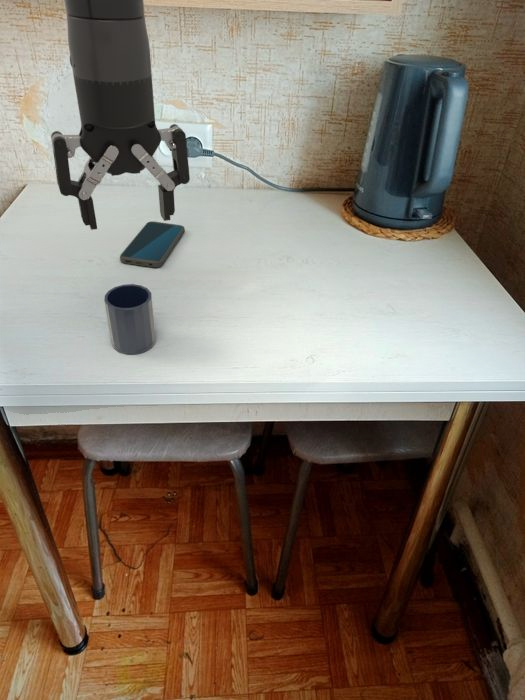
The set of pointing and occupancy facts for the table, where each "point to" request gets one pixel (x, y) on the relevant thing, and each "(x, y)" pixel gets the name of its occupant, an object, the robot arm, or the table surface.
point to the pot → (130, 318)
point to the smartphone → (152, 244)
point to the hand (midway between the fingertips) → (130, 222)
